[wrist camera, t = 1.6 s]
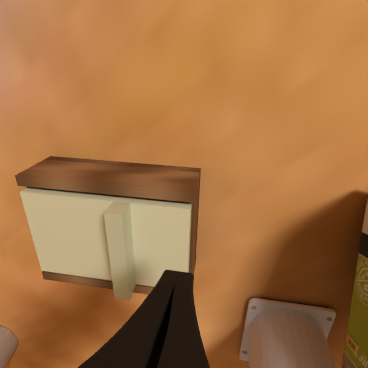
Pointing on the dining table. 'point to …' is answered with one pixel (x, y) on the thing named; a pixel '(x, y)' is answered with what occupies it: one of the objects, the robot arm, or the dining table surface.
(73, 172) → the walnut box
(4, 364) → the house plant
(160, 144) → the dining table surface
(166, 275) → the robot arm
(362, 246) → the tea box
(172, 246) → the cover plate
